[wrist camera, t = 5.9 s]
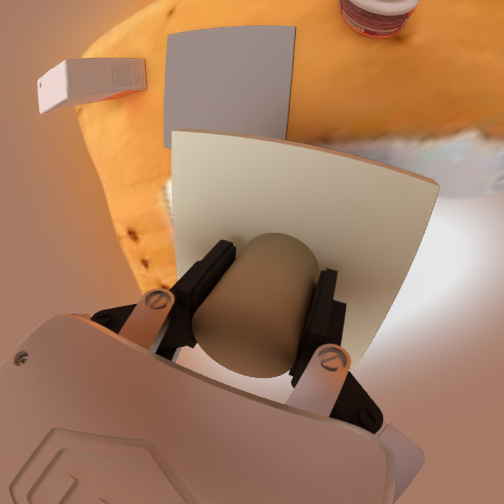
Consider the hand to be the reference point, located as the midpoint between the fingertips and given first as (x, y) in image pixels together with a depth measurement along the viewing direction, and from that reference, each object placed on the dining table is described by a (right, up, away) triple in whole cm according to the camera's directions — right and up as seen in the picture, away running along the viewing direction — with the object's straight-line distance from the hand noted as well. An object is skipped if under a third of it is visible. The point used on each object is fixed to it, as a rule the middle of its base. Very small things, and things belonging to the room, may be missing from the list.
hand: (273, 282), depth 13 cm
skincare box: (-16, +23, +14) cm, 31 cm away
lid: (+1, +1, +2) cm, 2 cm away
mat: (-4, +18, +12) cm, 22 cm away
